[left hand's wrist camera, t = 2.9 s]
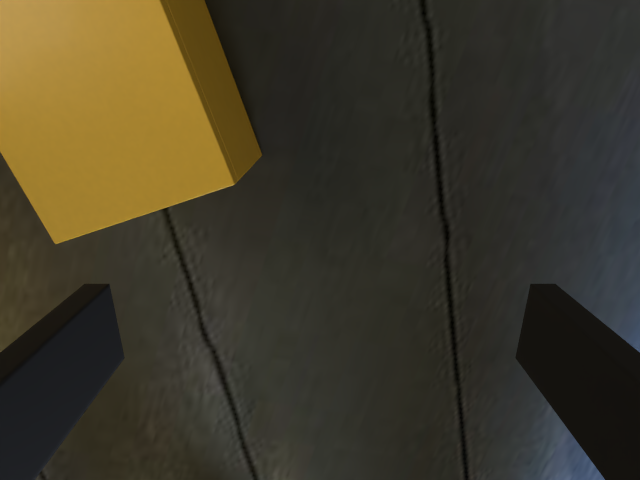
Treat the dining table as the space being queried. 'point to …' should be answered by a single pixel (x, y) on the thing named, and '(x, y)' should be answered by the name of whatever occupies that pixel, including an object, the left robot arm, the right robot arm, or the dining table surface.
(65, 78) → the cabinet
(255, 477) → the dining table surface
